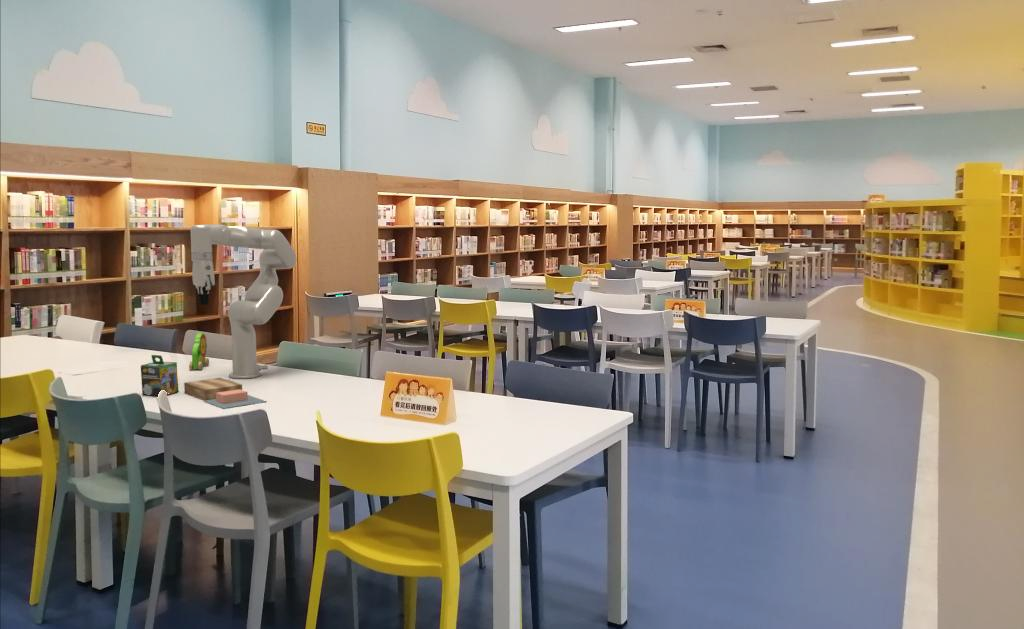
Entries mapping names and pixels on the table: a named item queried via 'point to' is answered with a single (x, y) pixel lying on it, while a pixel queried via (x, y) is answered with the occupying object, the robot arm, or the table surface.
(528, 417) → the table surface
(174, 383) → the green printed box
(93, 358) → the table surface
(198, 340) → the toy lion
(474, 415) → the table surface
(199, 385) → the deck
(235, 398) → the salmon pink block
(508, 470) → the table surface
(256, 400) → the mat
